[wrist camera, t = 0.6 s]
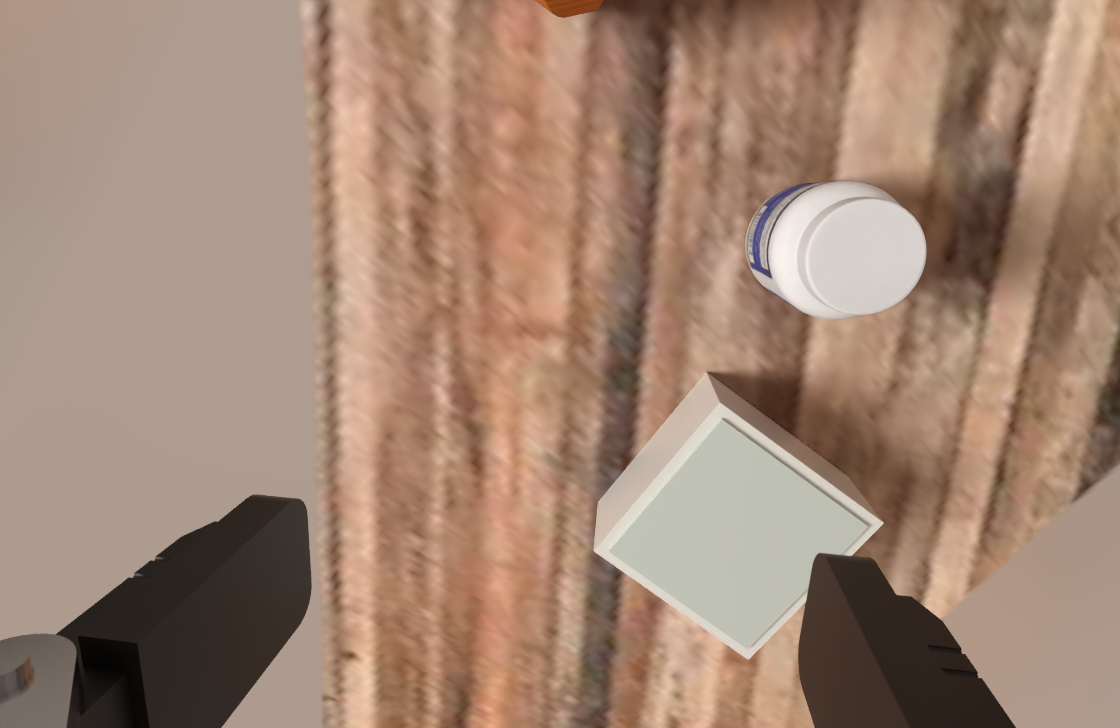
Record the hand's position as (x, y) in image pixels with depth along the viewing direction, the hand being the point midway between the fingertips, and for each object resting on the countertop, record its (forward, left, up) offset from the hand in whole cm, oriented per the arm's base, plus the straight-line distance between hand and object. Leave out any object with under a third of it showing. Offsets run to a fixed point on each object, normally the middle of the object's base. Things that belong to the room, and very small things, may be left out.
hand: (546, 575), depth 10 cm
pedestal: (+2, +11, -23) cm, 26 cm away
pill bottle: (-9, +4, -24) cm, 26 cm away
